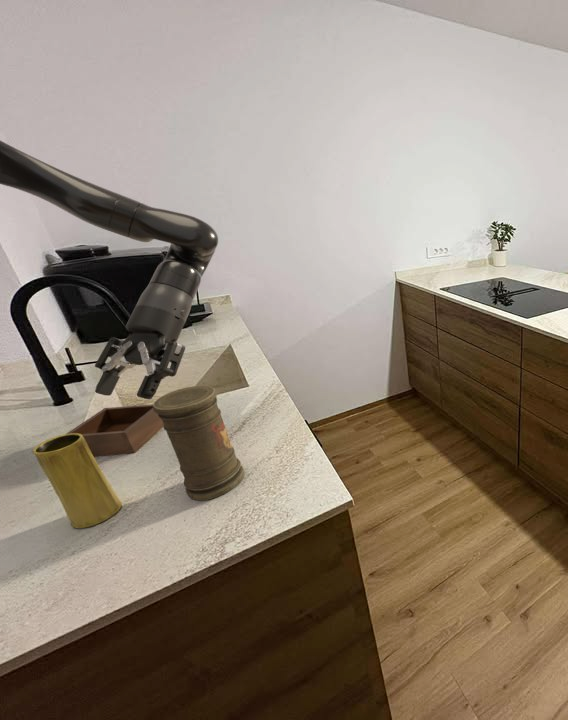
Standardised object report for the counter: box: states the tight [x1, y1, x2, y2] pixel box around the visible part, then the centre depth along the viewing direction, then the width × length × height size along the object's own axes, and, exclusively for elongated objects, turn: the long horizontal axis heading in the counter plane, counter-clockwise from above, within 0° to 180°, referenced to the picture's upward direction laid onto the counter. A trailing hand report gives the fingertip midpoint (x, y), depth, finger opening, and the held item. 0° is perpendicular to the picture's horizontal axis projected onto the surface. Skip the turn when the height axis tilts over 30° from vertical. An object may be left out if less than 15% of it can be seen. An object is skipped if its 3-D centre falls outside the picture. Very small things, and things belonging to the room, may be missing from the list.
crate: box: [66, 403, 164, 457], centre depth 80 cm, size 12×12×5 cm
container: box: [152, 385, 245, 501], centre depth 65 cm, size 9×9×18 cm
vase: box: [32, 433, 123, 529], centre depth 59 cm, size 6×6×14 cm
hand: (122, 396), depth 65 cm, fingers open, 8 cm apart
